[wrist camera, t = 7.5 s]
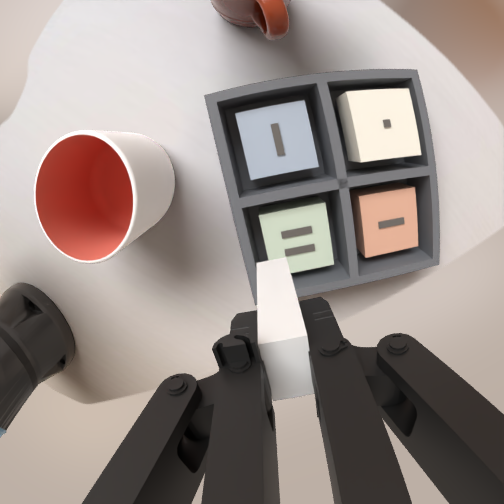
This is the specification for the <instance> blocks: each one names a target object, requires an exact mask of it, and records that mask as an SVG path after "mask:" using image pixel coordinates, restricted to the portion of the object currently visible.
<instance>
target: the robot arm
mask: <svg viewBox="0 0 504 504" xmlns="http://www.w3.org/2000/svg"><path fill="white" fill-rule="evenodd" d="M212 350H213V353H214V356H215V358H216V361H217V363H218V366H219V372H217V373H216V374H214V375H212V376H210V377H207V378H204V379H201V380H198V381H196V379H195V378H194V377H193V376H192V375H189V374H185V373H184V374H176V375H173V376H170V377H169V378H167V379H165V380H164V381H163V382H162V383H161V384H160V386H159V387H158V389H157V390H156V392H155V393H154V395H153V396H152V398H151V399H150V401H149V402H148V404H147V405H146V407H145V408H144V410H143V411H142V413H141V414H140V416H139V417H138V419H137V420H136V422H135V423H134V425H133V426H132V428H131V430H130V431H129V433H128V434H127V436H126V437H125V439H124V440H123V442H122V443H121V445H120V446H119V448H118V449H117V451H116V452H115V454H114V455H113V457H112V458H111V460H110V461H109V463H108V464H107V466H106V468H105V469H104V471H103V472H102V474H101V475H100V477H99V478H98V480H97V481H96V483H95V484H94V486H93V487H92V489H91V490H90V492H89V493H88V495H87V497H86V498H85V500H84V501H83V503H82V504H191V503H192V501H193V499H194V496H195V494H196V492H197V490H198V487H199V485H200V483H201V480H202V478H203V476H204V473H205V479H204V486H203V495H202V503H201V504H280V494H279V478H278V461H277V444H276V429H275V413H274V409H273V406H272V399H273V401H276V400H282V399H288V398H295V397H300V396H305V395H310V394H315V399H316V408H317V417H319V421H320V427H321V432H322V437H323V442H324V448H325V452H326V458H327V464H328V469H329V475H330V481H331V486H332V492H333V498H334V504H412V502H411V499H410V496H409V493H408V490H407V487H406V484H405V481H404V478H403V475H402V472H401V469H400V466H399V463H398V460H397V458H396V455H395V452H394V449H393V446H392V444H391V441H390V438H389V436H388V433H387V430H386V428H385V425H384V422H383V420H384V421H385V422H386V424H387V425H388V426H389V427H390V429H391V430H392V431H393V432H394V434H395V435H396V436H397V438H398V439H399V440H400V441H401V443H402V444H403V445H404V446H405V448H406V449H407V450H408V452H409V453H410V454H411V455H412V457H413V458H414V459H415V460H416V462H417V463H418V464H419V465H420V467H421V468H422V469H423V471H424V472H425V473H426V474H427V476H428V477H429V478H430V480H431V481H432V482H433V483H434V485H435V486H436V487H437V488H438V490H439V491H440V492H441V494H442V495H443V496H444V497H445V499H446V500H447V501H448V502H449V504H504V414H503V413H501V412H500V411H499V410H498V409H497V408H496V407H495V406H494V405H492V404H491V403H490V402H489V401H488V400H487V399H486V398H485V397H483V396H482V395H481V394H480V393H479V392H477V391H476V390H475V389H474V388H473V387H472V386H471V385H470V384H468V383H467V382H466V381H465V380H464V379H463V378H461V377H460V376H459V375H458V374H457V373H455V372H454V371H453V370H452V369H451V368H450V367H448V366H447V365H446V364H445V363H443V362H442V361H441V360H440V359H439V358H438V357H436V356H435V355H434V354H433V353H432V352H430V351H429V350H428V349H427V348H425V347H424V346H423V345H422V344H421V343H419V342H418V341H417V340H416V339H414V338H413V337H411V336H409V335H407V334H402V333H397V334H390V335H387V336H385V337H384V338H382V339H381V340H380V341H379V343H378V344H377V347H357V346H353V345H351V343H350V342H349V341H348V340H347V339H345V338H343V335H342V333H341V331H340V328H339V326H338V324H337V321H336V319H335V317H334V315H333V312H332V310H331V308H330V305H329V303H328V302H327V301H326V300H324V299H323V298H321V297H318V298H313V299H308V300H303V301H298V298H297V295H296V291H295V287H294V284H293V280H292V276H291V273H290V269H289V266H288V262H287V259H286V257H284V258H279V259H274V260H269V261H264V262H259V263H257V310H256V311H250V312H244V313H238V314H237V315H236V316H235V317H234V318H233V320H232V321H231V330H230V334H229V335H226V336H224V337H222V338H220V339H219V340H218V341H217V342H216V343H214V346H213V348H212ZM74 353H75V344H74V339H73V336H72V333H71V330H70V328H69V326H68V324H67V322H66V320H65V318H64V317H63V315H62V314H61V312H60V311H59V309H58V308H57V307H56V306H55V304H54V303H53V302H52V301H51V300H50V299H49V298H48V297H47V296H46V295H45V294H44V293H43V292H41V291H40V290H39V289H37V288H36V287H34V286H32V285H29V284H26V283H17V284H14V285H13V286H12V287H10V288H9V289H7V290H6V291H5V292H4V293H3V294H2V296H1V298H0V437H1V436H2V435H3V434H4V433H6V430H7V428H8V427H9V425H10V424H11V422H12V421H13V419H14V418H15V416H16V414H17V413H18V412H19V410H20V409H21V407H22V406H23V404H24V403H25V402H26V400H27V399H28V397H29V396H30V395H31V393H32V392H33V391H34V389H35V388H36V387H37V386H38V384H39V383H41V382H43V381H45V380H47V379H48V378H50V377H52V376H54V375H56V374H57V373H59V372H61V371H63V370H64V369H65V368H66V367H67V366H68V364H69V363H70V362H71V360H72V359H73V357H74ZM382 418H383V420H382Z"/></svg>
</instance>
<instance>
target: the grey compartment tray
mask: <svg viewBox="0 0 504 504" xmlns="http://www.w3.org/2000/svg"><path fill="white" fill-rule="evenodd" d="M375 89H409V92H410V96H411V100H412V105H413V110H414V114H415V119H416V125H417V130H418V136H419V142H420V149H421V155H416V156H407V157H398V158H390V159H382V160H375V161H368V162H355V161H348V155H347V150H346V144H345V139H344V134H343V130H342V125H341V120H340V116H339V111H338V107H337V103H336V98H337V97H339V96H340V95H342V94H343V93H345V92H347V91H359V90H375ZM204 97H205V101H206V106H207V110H208V114H209V118H210V123H211V127H212V131H213V135H214V139H215V144H216V148H217V152H218V156H219V160H220V164H221V169H222V173H223V177H224V181H225V185H226V189H227V193H228V197H229V202H230V206H231V210H232V214H233V218H234V222H235V226H236V230H237V234H238V238H239V242H240V246H241V250H242V254H243V258H244V262H245V266H246V270H247V274H248V278H249V282H250V286H251V290H252V294H253V298H254V302H255V305H257V263H259V262H264V261H269V260H268V255H267V251H266V246H265V242H264V237H263V233H262V228H261V224H260V219H259V208H260V207H265V206H270V205H275V204H280V203H285V202H290V201H295V200H300V199H305V198H310V197H316V196H318V197H319V198H321V199H322V200H323V201H324V202H325V204H326V210H327V217H328V223H329V230H330V237H331V244H332V252H333V260H334V265H329V266H324V267H319V268H314V269H309V270H305V271H299V272H294V273H291V276H292V280H293V284H294V287H295V291H296V295H297V297H303V296H308V295H313V294H317V293H322V292H327V291H332V290H336V289H341V288H346V287H350V286H355V285H359V284H364V283H368V282H372V281H376V280H381V279H385V278H389V277H393V276H397V275H401V274H405V273H409V272H413V271H417V270H421V269H424V268H428V267H432V266H436V265H439V253H440V223H439V199H438V185H437V174H436V164H435V156H434V149H433V142H432V135H431V129H430V124H429V118H428V113H427V108H426V104H425V99H424V95H423V91H422V87H421V83H420V79H419V75H418V71H417V70H413V69H370V70H350V71H337V72H326V73H317V74H308V75H301V76H294V77H287V78H281V79H275V80H269V81H264V82H259V83H254V84H249V85H244V86H240V87H236V88H231V89H227V90H223V91H219V92H215V93H212V94H208V95H204ZM303 100H304V101H305V105H306V109H307V113H308V118H309V122H310V127H311V131H312V136H313V140H314V145H315V150H316V155H317V160H318V165H319V167H315V168H309V169H304V170H298V171H293V172H288V173H283V174H278V175H273V176H268V177H263V178H258V179H254V180H251V179H250V175H249V171H248V166H247V162H246V158H245V153H244V149H243V145H242V141H241V136H240V132H239V128H238V124H237V119H236V115H235V113H240V112H244V111H248V110H253V109H258V108H263V107H268V106H273V105H279V104H284V103H290V102H296V101H303ZM392 183H403V184H406V185H409V186H412V187H415V194H416V206H417V223H418V246H416V247H412V248H408V249H403V250H399V251H394V252H390V253H385V254H381V255H376V256H372V257H367V258H365V257H364V255H363V254H362V253H361V252H360V251H359V250H358V249H357V247H356V240H355V231H354V223H353V215H352V207H351V200H350V193H349V190H355V189H361V188H367V187H373V186H379V185H386V184H392Z"/></svg>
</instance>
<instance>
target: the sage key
mask: <svg viewBox="0 0 504 504" xmlns="http://www.w3.org/2000/svg"><path fill="white" fill-rule="evenodd" d="M259 219H260V224H261V228H262V233H263V237H264V242H265V246H266V251H267V255H268V260H274V259H279V258H284V257H286V259H287V262H288V266H289V269H290V273H294V272H299V271H305V270H309V269H314V268H319V267H324V266H329V265H334V260H333V252H332V244H331V237H330V230H329V223H328V217H327V210H326V204H325V202H324V201H323V200H322V199H321V198H319V197H318V196H316V197H310V198H305V199H300V200H295V201H290V202H285V203H280V204H275V205H270V206H265V207H260V208H259Z"/></svg>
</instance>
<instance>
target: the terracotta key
mask: <svg viewBox="0 0 504 504" xmlns="http://www.w3.org/2000/svg"><path fill="white" fill-rule="evenodd" d="M349 193H350V200H351V207H352V215H353V223H354V231H355V240H356V247H357V249H358V250H359V251H360V252H361V253H362V254H363V255H364V257H365V258H367V257H372V256H376V255H381V254H385V253H390V252H394V251H399V250H403V249H408V248H412V247H416V246H418V223H417V206H416V194H415V187H412V186H409V185H406V184H403V183H392V184H386V185H379V186H373V187H367V188H361V189H355V190H349Z"/></svg>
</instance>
